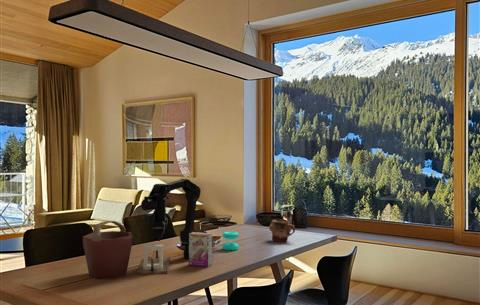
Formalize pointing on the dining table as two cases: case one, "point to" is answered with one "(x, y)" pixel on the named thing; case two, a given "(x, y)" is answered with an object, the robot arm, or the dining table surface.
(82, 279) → the dining table surface
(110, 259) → the bucket
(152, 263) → the bent copper wire
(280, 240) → the brown ceramic mug
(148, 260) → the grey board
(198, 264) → the candy bar box
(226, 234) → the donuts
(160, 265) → the hollow square tube
